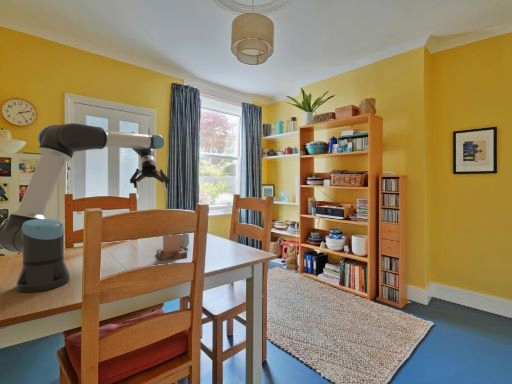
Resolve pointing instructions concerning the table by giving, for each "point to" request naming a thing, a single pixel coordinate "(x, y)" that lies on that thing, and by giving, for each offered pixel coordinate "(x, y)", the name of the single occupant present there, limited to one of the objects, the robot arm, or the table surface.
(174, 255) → the base board
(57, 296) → the table surface
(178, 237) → the pinkish brown block
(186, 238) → the grey rounded piece
